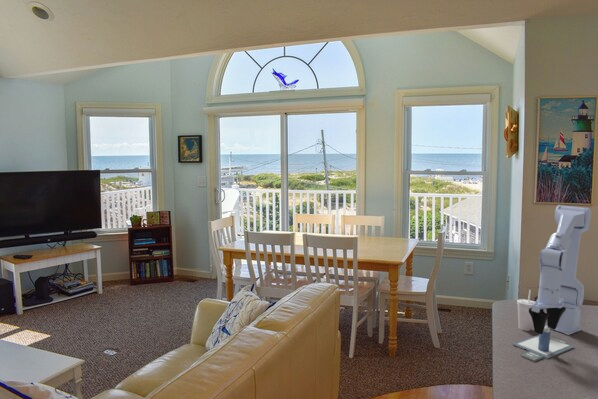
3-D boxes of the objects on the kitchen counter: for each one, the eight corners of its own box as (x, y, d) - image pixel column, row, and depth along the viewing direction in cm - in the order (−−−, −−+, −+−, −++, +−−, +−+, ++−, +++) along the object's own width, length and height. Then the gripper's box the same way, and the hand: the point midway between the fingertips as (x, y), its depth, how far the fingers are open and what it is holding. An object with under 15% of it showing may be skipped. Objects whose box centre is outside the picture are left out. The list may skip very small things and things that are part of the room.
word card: (530, 352, 140) (530, 350, 140) (543, 357, 137) (543, 356, 137) (521, 356, 137) (521, 354, 137) (534, 361, 134) (534, 359, 134)
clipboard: (539, 335, 154) (540, 332, 154) (574, 347, 145) (574, 345, 145) (512, 345, 145) (513, 342, 145) (547, 358, 136) (547, 356, 136)
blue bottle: (541, 346, 143) (543, 325, 142) (550, 350, 141) (553, 328, 140) (535, 348, 142) (537, 327, 141) (545, 352, 139) (547, 330, 138)
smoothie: (537, 333, 156) (541, 293, 154) (517, 331, 157) (520, 291, 156) (531, 326, 162) (535, 288, 161) (512, 324, 163) (515, 286, 162)
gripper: (550, 295, 132) (545, 340, 133) (575, 288, 140) (570, 330, 141) (526, 288, 138) (522, 331, 139) (551, 281, 146) (547, 322, 147)
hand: (545, 330), depth 141 cm, fingers open, 7 cm apart
